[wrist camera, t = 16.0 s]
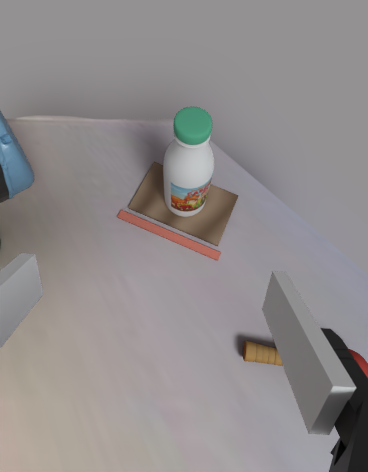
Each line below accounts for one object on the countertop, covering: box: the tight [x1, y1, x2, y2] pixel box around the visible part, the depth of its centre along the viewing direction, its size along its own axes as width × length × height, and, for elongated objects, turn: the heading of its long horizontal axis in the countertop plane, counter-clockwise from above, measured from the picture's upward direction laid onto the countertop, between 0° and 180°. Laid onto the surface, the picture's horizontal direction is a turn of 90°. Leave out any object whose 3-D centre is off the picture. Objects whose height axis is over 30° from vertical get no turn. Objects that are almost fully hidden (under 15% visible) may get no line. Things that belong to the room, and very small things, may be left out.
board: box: [128, 162, 238, 246], centre depth 49 cm, size 18×11×1 cm, turn 66°
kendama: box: [243, 341, 368, 378], centre depth 39 cm, size 8×6×18 cm
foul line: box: [117, 210, 221, 261], centre depth 47 cm, size 20×2×1 cm, turn 66°
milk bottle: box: [163, 107, 214, 217], centre depth 39 cm, size 8×8×20 cm
